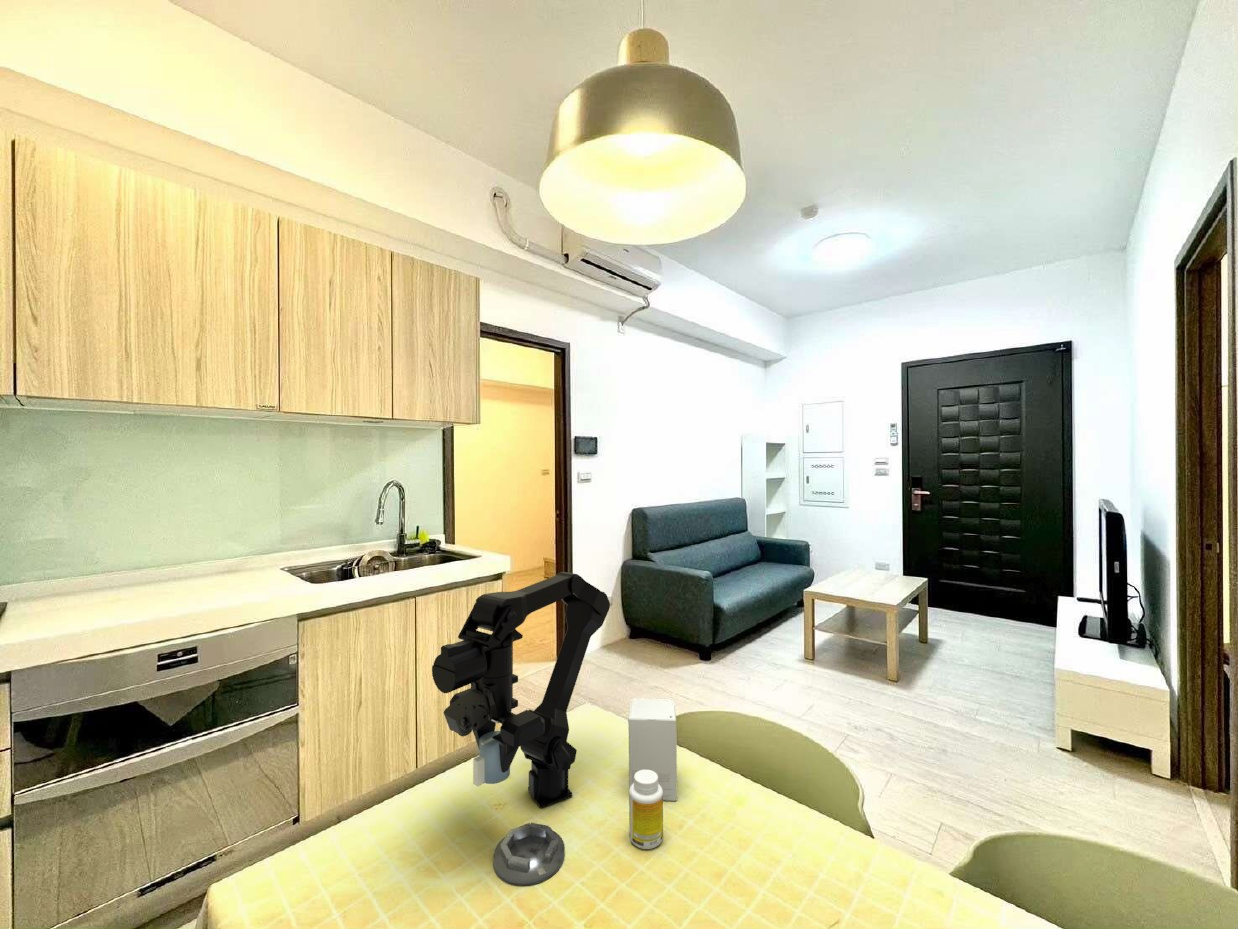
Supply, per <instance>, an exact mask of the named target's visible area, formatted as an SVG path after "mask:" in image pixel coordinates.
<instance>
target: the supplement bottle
mask: <svg viewBox="0 0 1238 929" xmlns="http://www.w3.org/2000/svg"><path fill="white" fill-rule="evenodd" d="M628 792H629V793H628V795H629V797H628V799H629V801H628V802H629V803H628V804H629V806H628V809H629V811H628V814H629V816H628V817H629V818H628V820H629V822H628V824H629V826H628V827H629V828H628V829H629V830H628V832H629V834H628V835H629V839H630V841H631V843H632V844H633V845H634V846H636V847H637V848H639V849H642V850H652V849H655V848H656V847H658V846H659V845H660V844H661V843H662V842H663V839H664V838H663V837H664V800H663V790H662V788H661V786H660V785H659V784H658V775H657V774H656V773H655V772H654V771H651V770H640V771H638V772H636V773H635V775H634V783H633V784H632V785H631V787H630V790H629V791H628Z"/></svg>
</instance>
